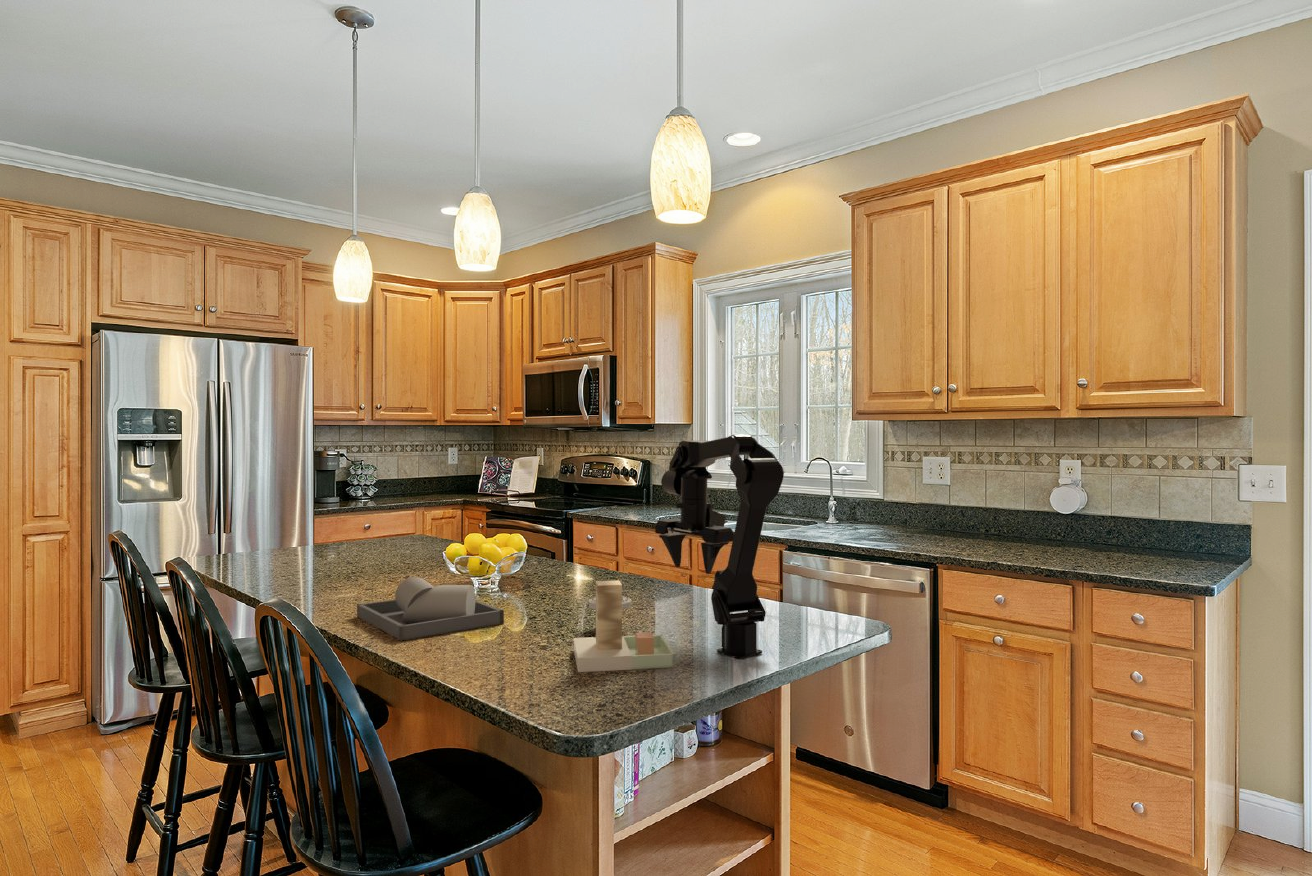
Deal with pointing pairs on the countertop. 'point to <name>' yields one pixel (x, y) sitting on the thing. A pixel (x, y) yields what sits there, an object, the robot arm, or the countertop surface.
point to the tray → (659, 659)
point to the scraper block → (608, 615)
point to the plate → (600, 656)
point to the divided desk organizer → (390, 621)
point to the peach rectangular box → (644, 643)
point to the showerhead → (625, 603)
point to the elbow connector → (433, 600)
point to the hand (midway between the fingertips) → (692, 570)
